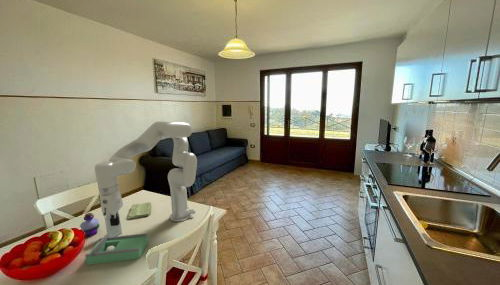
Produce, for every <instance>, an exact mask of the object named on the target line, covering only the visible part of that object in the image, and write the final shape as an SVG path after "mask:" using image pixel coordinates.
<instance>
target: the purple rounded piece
mask: <svg viewBox="0 0 500 285" xmlns="http://www.w3.org/2000/svg"><path fill="white" fill-rule="evenodd" d="M94 217H95V215H94V214H93V213H92V212H88V213H86V214H84V216H83V220H84V221H83V222H81V223H80V224H79V227H80V230H82V232H83V231H84V232H85V234H86V236H85V237H86V238H90V237H93V236H95V235H97V234H98V230H99V228H100V219H99V218H94ZM84 232H83V233H84ZM85 234H84V235H85Z"/></svg>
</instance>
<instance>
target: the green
mask: <svg viewBox="0 0 500 285" xmlns="http://www.w3.org/2000/svg"><path fill="white" fill-rule="evenodd" d="M148 241H149V240H148V233H146V232H145V233H137V234H128V235H127V234H125V235H117V236H114V237H108V235H107V234H105V235H104V236H102V237H99V238H98V241H97V243H96V244H95V246H94V247H93V248H92V249H91V250H90V251H89V252H88V253H85V254H84V256H85V257H84V258H85V261H86V265H87V266H90V265H97V264H103V263H104V264H105V263H115V262H123V261H129V260H130V261H131V260H138V259H140V258H141V257H142V254H143V253H144V251H145V249H146V246H147V244H148V243H149V242H148ZM109 246H114V247H115V249H114V250H109V251H106V249H107V248H108V247H109Z"/></svg>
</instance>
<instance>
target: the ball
mask: <svg viewBox="0 0 500 285" xmlns="http://www.w3.org/2000/svg"><path fill="white" fill-rule="evenodd" d="M114 249H115V247H114V246H109V247H108V248H107V249H106V251H109V250H114Z"/></svg>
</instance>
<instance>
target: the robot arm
mask: <svg viewBox="0 0 500 285" xmlns="http://www.w3.org/2000/svg"><path fill="white" fill-rule="evenodd" d="M192 133H193V128H192V126H191V124H189V123H187V122H177V121H176V122H175V121H173V122H172V121H155V122H153V123H152V124H151V125H150V126H149V127H147V129H146V130H145V131H144V132H143V133H142V134H141V135H140V136H138V138H136V139H134V140H133V141H131V142H129V143H127V144H125V145H124V146H122V147H120V149H118V150H117V151H116V152H115V153H114V154H113V155H112V156H111V157H110V159H108V161H101V162H99V163H96V164H95V166H94V172H95V177H96V181H97V182H96V183H97V188H98V193H99V196H100V207H101V213H102V215H103V217H104V216H106V219H110V224H111V226H117V225H119V223H121V221H120V222H119V216H120V213H119V211H120V210H121V208H122V207H124V206H123V205H124V203H123V198H122V193H121V191H120V187H119V180H118V177H119V176H120V177H121V176H125V175H129V174H132V173H134V171H136V167H137V164H136V162H135V161H134V160H133V159H132V158H133V157H136V156H137V155H140V154H142V153H146V152H149V151H151V150H152V149H153V148H154V147H155V146H156V145H157V144H158V143H159V142H160V141H161V140H162V138H163V139H164V138H167V139H172V141H173V152H172V158H171V159H172V160H171V161H172V164H173V165H174V166H176V167H178V168H172V169H170V170H169V172H168V174H167V180H168V185H169V189H170V200H171V202H170V203H171V214H170V216H169V219H170V221H173V222H183V221H186V220H188V219H190V218H191V216H192V215H193V214H196V210H194V209H193V208H189V204H188V194H187V192H188V191H187V188H189V187H191V186H193V184H194V183H195V181H196V174H197V167H198V166H197V165H198V159H197V156H196V155H195V153H193V152H189V141H188V137H190V136H191V135H192ZM191 214H192V215H191ZM118 215H119V216H118Z"/></svg>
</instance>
